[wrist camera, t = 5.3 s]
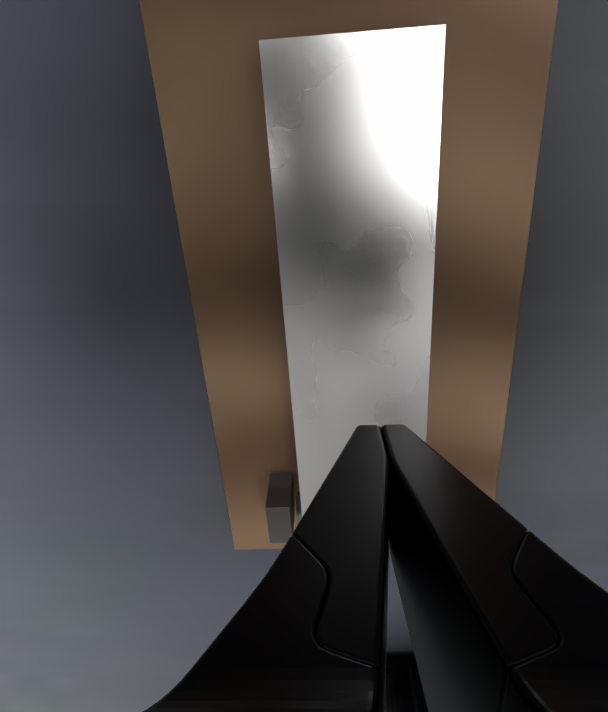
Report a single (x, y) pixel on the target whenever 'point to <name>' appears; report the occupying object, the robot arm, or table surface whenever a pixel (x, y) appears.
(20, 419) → the table surface
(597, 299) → the table surface
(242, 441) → the walnut board
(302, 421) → the bar
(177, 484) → the table surface
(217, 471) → the table surface
